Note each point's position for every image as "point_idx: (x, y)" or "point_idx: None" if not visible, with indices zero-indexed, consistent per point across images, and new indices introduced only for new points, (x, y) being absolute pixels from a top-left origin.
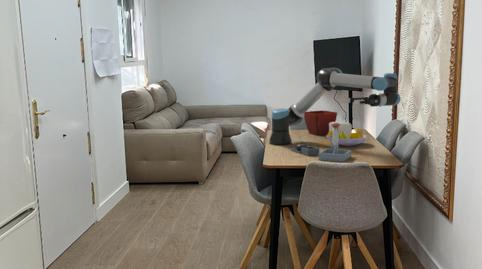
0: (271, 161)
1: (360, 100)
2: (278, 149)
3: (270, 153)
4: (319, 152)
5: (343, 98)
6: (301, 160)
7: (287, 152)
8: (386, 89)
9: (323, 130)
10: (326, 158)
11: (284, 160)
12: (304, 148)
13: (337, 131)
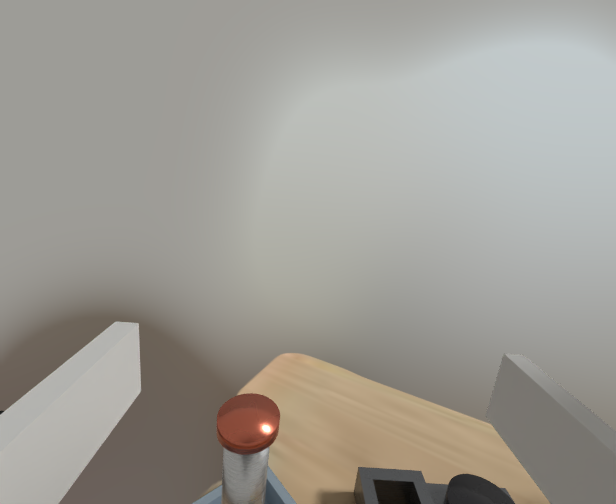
0: (317, 366)
1: (17, 413)
2: None
3: (436, 409)
4: (269, 468)
5: (546, 388)
6: (288, 427)
7: (453, 463)
8: None
9: None
10: None
11: (314, 392)
12: (389, 469)
13: (223, 459)
